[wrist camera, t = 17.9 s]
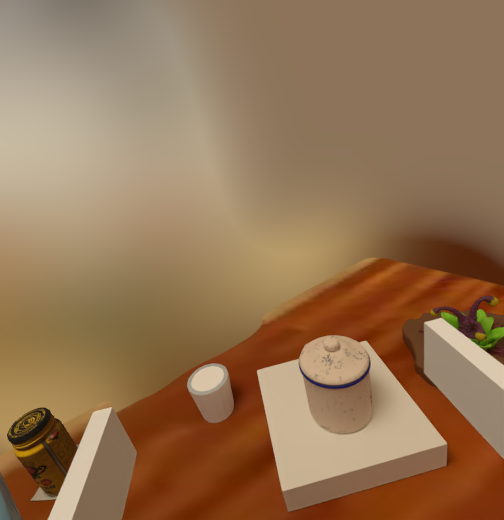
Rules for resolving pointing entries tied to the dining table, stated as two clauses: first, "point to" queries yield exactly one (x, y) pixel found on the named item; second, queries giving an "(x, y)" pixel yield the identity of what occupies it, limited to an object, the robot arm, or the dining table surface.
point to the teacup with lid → (337, 383)
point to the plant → (467, 322)
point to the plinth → (345, 438)
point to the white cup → (212, 392)
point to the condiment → (43, 450)
